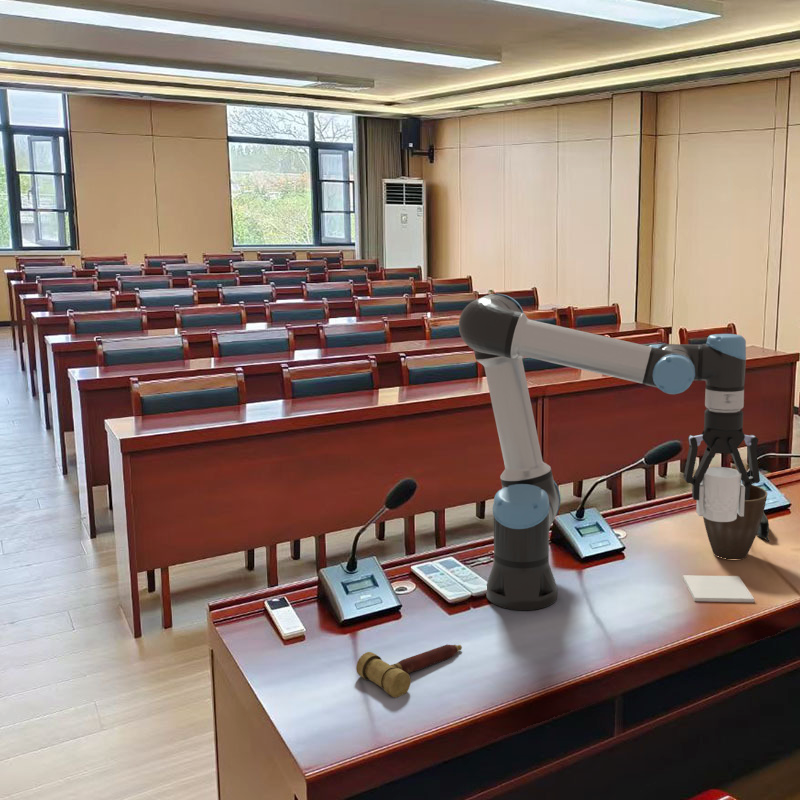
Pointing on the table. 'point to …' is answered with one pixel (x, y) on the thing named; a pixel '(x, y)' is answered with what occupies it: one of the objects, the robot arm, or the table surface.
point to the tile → (717, 588)
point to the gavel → (400, 668)
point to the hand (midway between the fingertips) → (719, 514)
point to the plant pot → (738, 528)
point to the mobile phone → (763, 528)
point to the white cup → (721, 494)
